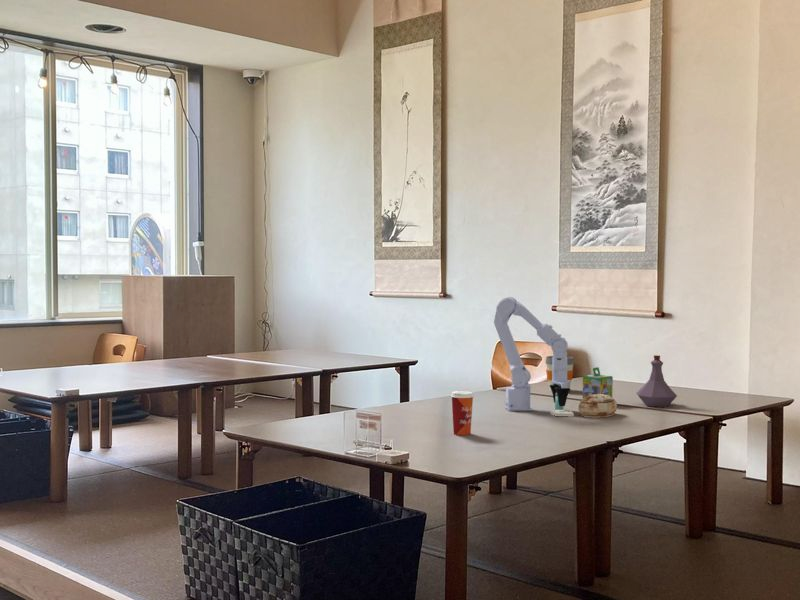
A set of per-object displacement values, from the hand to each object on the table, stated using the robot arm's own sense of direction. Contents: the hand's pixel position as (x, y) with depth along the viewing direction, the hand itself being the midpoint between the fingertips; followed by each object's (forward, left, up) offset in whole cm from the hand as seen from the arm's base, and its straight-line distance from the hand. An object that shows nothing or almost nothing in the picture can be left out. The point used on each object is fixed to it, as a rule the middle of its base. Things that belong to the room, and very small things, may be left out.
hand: (559, 404), depth 353 cm
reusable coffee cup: (+14, +56, -3) cm, 58 cm away
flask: (+43, +13, -3) cm, 45 cm away
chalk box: (+20, +17, -3) cm, 26 cm away
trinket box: (+12, -9, -3) cm, 16 cm away
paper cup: (-44, -44, -3) cm, 62 cm away
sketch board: (-1, -8, -3) cm, 8 cm away
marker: (0, 0, -3) cm, 3 cm away
